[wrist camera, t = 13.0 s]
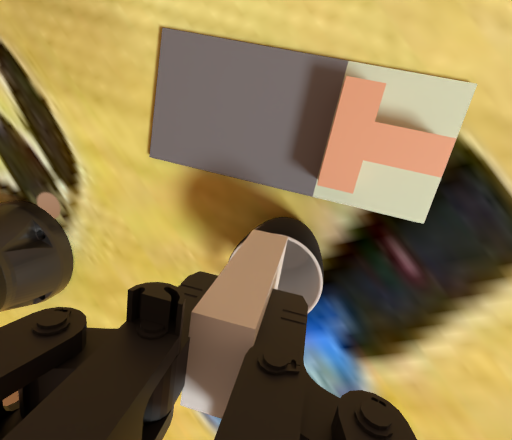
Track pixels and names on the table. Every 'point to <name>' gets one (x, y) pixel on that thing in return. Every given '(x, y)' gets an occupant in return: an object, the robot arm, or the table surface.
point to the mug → (297, 259)
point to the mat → (291, 118)
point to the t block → (375, 140)
